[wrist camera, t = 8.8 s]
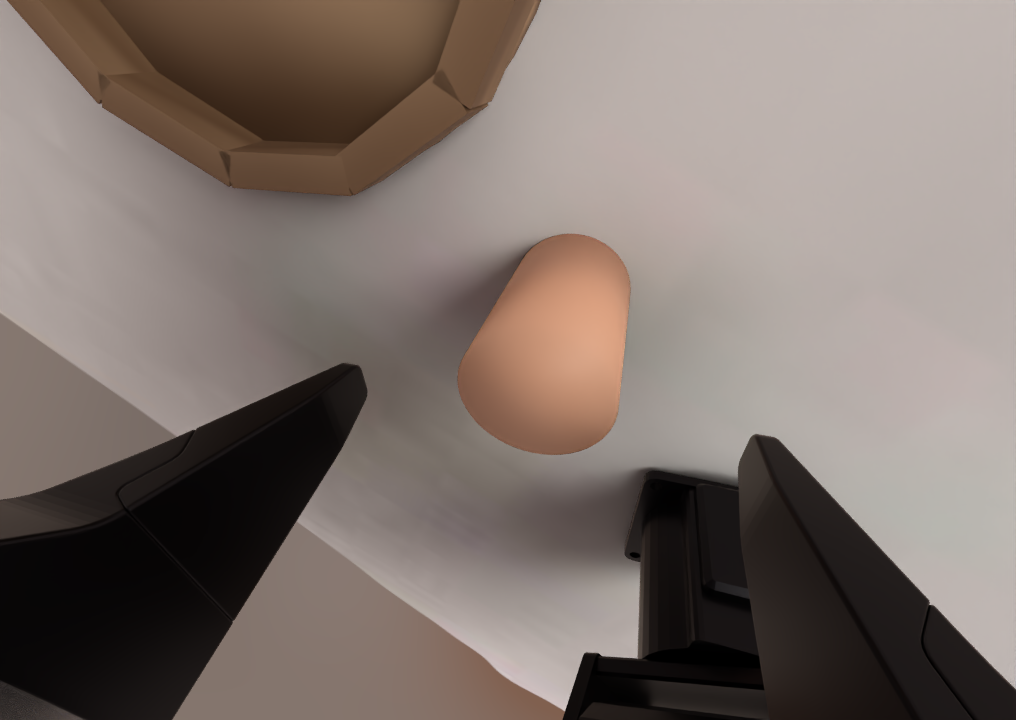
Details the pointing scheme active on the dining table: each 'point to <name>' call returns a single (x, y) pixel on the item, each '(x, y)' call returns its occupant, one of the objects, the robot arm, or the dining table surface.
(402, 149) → the round tray
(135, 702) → the robot arm
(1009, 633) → the dining table surface
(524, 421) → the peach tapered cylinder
